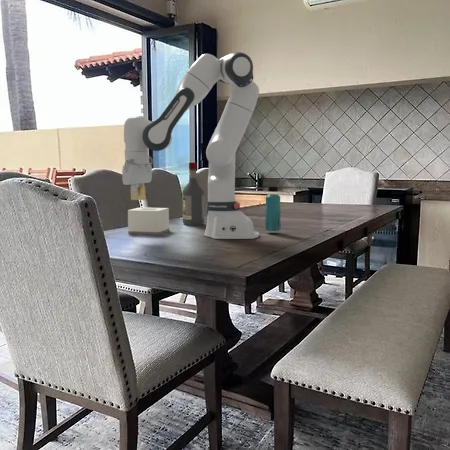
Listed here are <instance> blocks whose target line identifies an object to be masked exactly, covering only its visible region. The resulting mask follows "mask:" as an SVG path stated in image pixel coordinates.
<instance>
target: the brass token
mask: <svg viewBox="0 0 450 450" xmlns="http://www.w3.org/2000/svg"><path fill="white" fill-rule="evenodd" d="M137 188H138V191H139V195H138V196H134V195H133V190H132V187H131V186H130V201H145V200H146V198H147V197H146V196H147V195H146V186H144V187H139V186H138V187H137Z"/></svg>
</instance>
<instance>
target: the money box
mask: <svg viewBox="0 0 450 450" xmlns="http://www.w3.org/2000/svg"><path fill="white" fill-rule="evenodd" d="M169 211H170V209H169V207H136V208H132V209H127V230H128V234H129V235H130V234H133V235H134V234H135V235H155V236H156V235H158V236H160V235H162V234H164V233H166V232H169V231H170V214H169Z"/></svg>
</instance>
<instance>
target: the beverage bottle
mask: <svg viewBox="0 0 450 450" xmlns="http://www.w3.org/2000/svg"><path fill="white" fill-rule="evenodd" d="M267 191H268V192H271V194H270V193H269V194H267V195H266V196H265V213H264V214H265V225H264V226H265V231H268V232H278V231H280V230H281V228H282V227H281V224H282V223H281V216H282V215H281V196H280V195H279V194H277V193H276V194H275V193H274V194H273V193H272V192H279V190H278V186H275V185H271V186H268V187H267Z"/></svg>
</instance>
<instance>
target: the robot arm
mask: <svg viewBox="0 0 450 450" xmlns="http://www.w3.org/2000/svg"><path fill="white" fill-rule="evenodd" d="M252 60H253V59H251V57H250V56H249V55H248V54H246V53H244V52H241V51H236V52H231V53H228V54H227V55H225V56H222V57H219V58H217V56H215V55H213V54H210V53H203V54H201V55H200V56H199V57H198V58H197V59H196V60H195V61H194V62H193V63H192V65H191V66H190V67H189V68H188V70H187V71H186V72H185V74H184V75H183V77H182V79H181V80H180V82H179V84H178V87H177V89H176V91H175V93H174V96H173V98H172V99H171V101H170V102H169V103H168V105H167V106H166V108H165V109H164V110H163V112H162V113H161V115H160V116H159V117H158V118H157V119H155V120H154V121H151V120H149V119H148V118H146V117H144V116H143V115H136V116H135V115H134V116H132V117H129V118H127V119H126V120H124V125H123V140H124V141H123V142H124V144H125V147H124V164H123V165H122V172H121V174H122V176H121V177H122V179H121V180H122V184H123V185H126V186H128V185H131V186H130V188H131V187H132V190H133V195H134V196H138V195H139V191H138V188H137V187H145V184H147V183H151V182H152V178H153V167H152V165H153V157H151V156H150V155H149V150H150V151H154V152H159V151H160V152H161V151H164V150H166V149H168V148H169V147H170V145H171V143H172V132H173V130H174V128H175V127H176V125H177V124H178V122H179V121H180V120H181V119H182V117H183V116H184V114H185V113H186V112H187V111H188V110H190V108H192V107H194V106H196V105H198V104H200V103H201V102H202V101H203V100H204V99H205V98H206V97H207V95H208V94H209V92H210V91H211V90H212V88H213V86H214V85H215V84H216V83H217V82H221V83H224V84H228V85H229V84H230V87H231V88H230V95H229V97H228V99H227V102H226V104H225V106H224V109H223V111H222V113H221V117H220V119H219V121H218V123H217V126H216V127H215V129H214V130H213V131H214V132H213V133H212V135H211V138H210V140H209V142H208V145H207V147H206V150H205V154H206V155H205V156H206V160H207V161H208V176H207V201H206V216H207V219H206V226H205V231H204V235H203V236H205V237H208V238H212V239H214V240H215V239H216V240H217V239H218V240H232V239H233V240H236V239H237V240H238V239H239V240H243V239H244V240H249V239H250V240H252V239H256V238H258V237H259V236H260V232H259V231H255V229H254V224H253V223H254V222H253V221H252V219H250V217H248V216H247V215H246V214H245V213H243V212H242V211H241V210H240V209H241V208H240V207H241V203H240V202H237V201H236V195H235V194H236V193H235V192H236V153H237V150H238V148H239V146H240V143H241V141H242V139H243V137H244V135H245V133H246V131H247V128H248V126H249V124H250V122H251V118H252V116H253V113H254V111H255V108H256V105H257V102H258V99H259V93H260V88H259V85H257V84H256V82H254V62H253V61H252Z"/></svg>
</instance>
